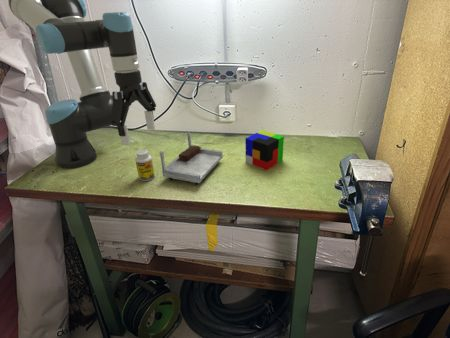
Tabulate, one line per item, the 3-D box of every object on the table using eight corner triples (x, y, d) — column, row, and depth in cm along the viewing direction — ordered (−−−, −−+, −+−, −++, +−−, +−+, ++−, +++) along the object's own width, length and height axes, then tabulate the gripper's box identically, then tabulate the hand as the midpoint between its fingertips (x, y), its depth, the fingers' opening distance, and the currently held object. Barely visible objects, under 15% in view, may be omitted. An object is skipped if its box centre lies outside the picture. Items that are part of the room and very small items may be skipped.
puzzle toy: (245, 162, 115) (245, 138, 110) (261, 153, 121) (261, 130, 117) (267, 170, 109) (267, 145, 104) (282, 160, 115) (283, 136, 110)
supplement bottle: (138, 182, 105) (133, 156, 100) (139, 175, 109) (134, 149, 104) (155, 180, 106) (150, 154, 101) (154, 173, 110) (150, 147, 106)
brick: (187, 167, 112) (186, 156, 110) (179, 165, 114) (177, 154, 111) (203, 156, 120) (202, 145, 118) (194, 154, 122) (193, 143, 120)
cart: (163, 180, 105) (159, 152, 100) (190, 156, 121) (188, 130, 116) (199, 187, 100) (197, 158, 95) (222, 161, 116) (221, 134, 111)
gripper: (108, 80, 78) (124, 153, 88) (160, 63, 98) (169, 124, 109) (85, 78, 81) (104, 150, 91) (141, 62, 101) (151, 123, 111)
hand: (139, 136), depth 100 cm, fingers open, 13 cm apart
